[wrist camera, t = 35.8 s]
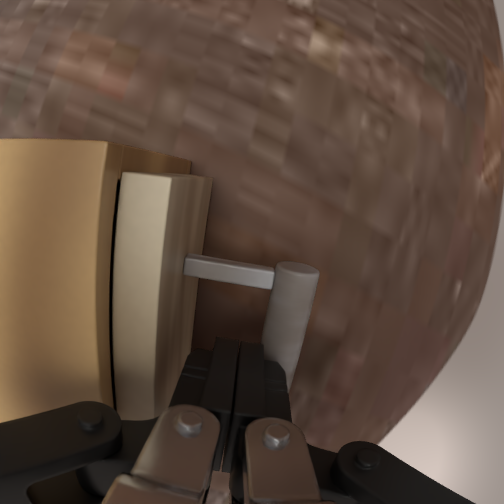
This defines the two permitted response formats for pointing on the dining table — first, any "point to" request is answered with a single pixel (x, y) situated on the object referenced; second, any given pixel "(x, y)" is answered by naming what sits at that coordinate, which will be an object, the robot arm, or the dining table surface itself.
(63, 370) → the cabinet
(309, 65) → the dining table surface
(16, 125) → the dining table surface
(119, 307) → the drawer
